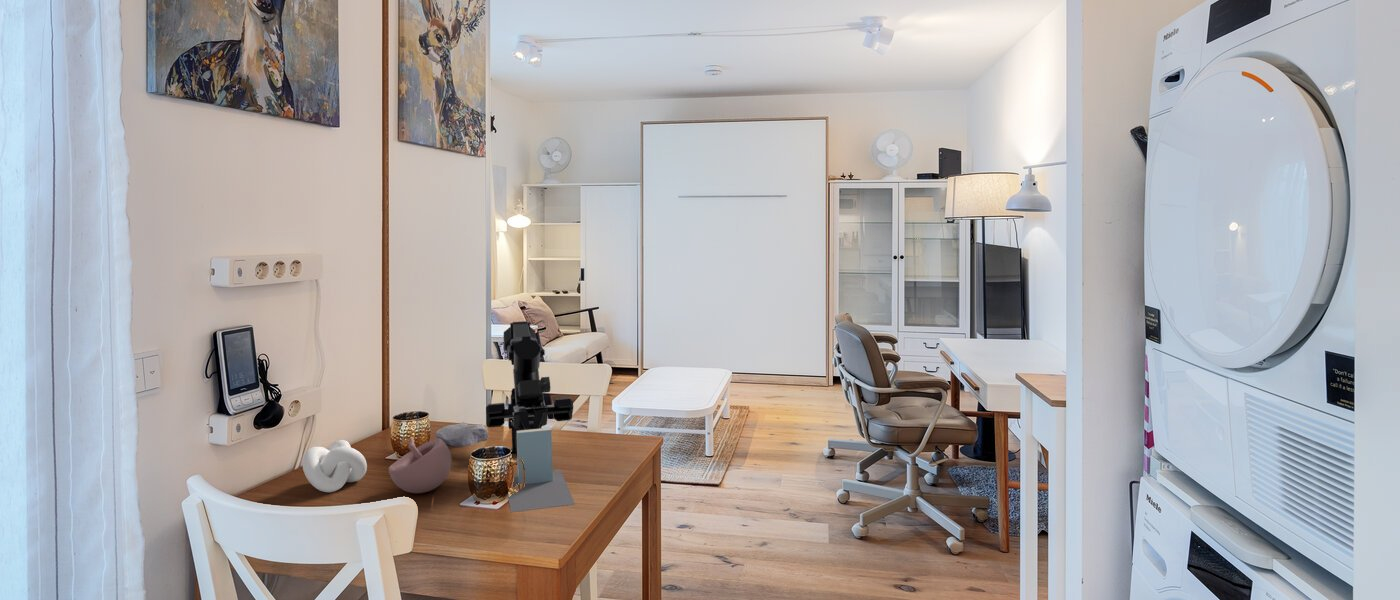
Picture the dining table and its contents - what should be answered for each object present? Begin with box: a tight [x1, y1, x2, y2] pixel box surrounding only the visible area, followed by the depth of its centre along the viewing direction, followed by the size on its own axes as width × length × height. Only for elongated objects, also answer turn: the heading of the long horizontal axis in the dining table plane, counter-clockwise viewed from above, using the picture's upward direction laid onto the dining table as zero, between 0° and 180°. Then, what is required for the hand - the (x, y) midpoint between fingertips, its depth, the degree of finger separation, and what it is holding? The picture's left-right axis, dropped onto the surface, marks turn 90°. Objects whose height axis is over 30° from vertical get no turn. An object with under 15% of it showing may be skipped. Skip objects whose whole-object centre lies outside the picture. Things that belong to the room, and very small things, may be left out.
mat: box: [507, 469, 576, 513], centre depth 143 cm, size 22×12×1 cm, turn 18°
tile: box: [516, 427, 553, 485], centre depth 147 cm, size 2×7×11 cm, turn 108°
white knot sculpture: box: [301, 439, 368, 493], centre depth 148 cm, size 11×12×9 cm
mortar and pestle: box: [388, 437, 452, 494], centre depth 143 cm, size 12×12×12 cm
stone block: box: [435, 421, 489, 448], centre depth 181 cm, size 12×5×10 cm
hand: (533, 445), depth 150 cm, fingers closed
